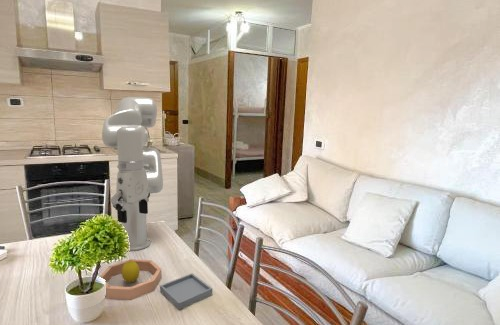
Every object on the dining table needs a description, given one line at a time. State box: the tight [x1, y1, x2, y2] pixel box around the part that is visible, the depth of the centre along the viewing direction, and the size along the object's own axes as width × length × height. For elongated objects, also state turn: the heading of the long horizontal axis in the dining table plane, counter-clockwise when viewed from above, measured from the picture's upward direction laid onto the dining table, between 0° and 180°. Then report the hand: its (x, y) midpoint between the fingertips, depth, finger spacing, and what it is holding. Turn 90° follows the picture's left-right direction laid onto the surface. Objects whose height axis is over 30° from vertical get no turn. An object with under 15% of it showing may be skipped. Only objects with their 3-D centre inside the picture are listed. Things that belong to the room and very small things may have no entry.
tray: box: [159, 272, 213, 311], centre depth 105 cm, size 12×12×2 cm
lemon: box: [121, 261, 140, 284], centre depth 109 cm, size 6×6×8 cm
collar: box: [99, 258, 162, 301], centre depth 110 cm, size 18×18×4 cm
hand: (133, 217), depth 106 cm, fingers open, 9 cm apart
